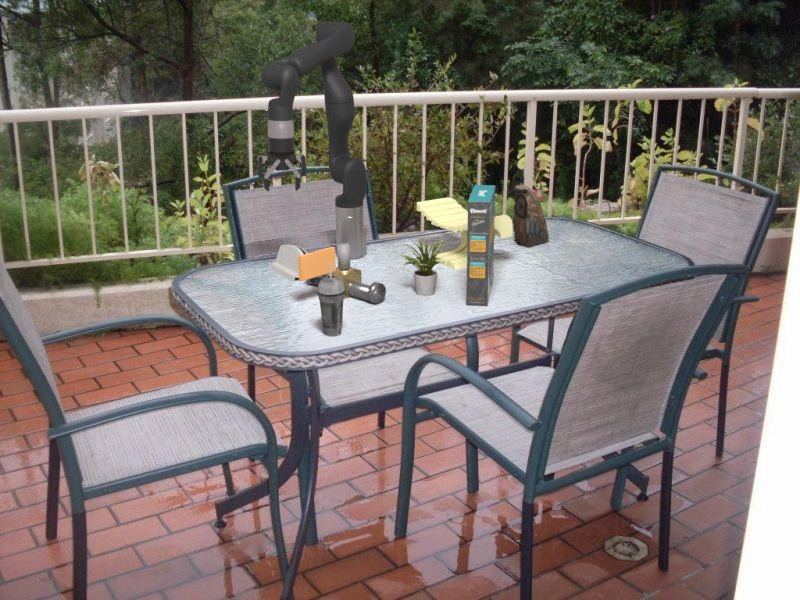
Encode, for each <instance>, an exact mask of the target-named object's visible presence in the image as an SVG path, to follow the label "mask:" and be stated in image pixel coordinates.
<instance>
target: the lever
mask: <svg viewBox="0 0 800 600" xmlns="http://www.w3.org/2000/svg"><path fill="white" fill-rule="evenodd" d="M337 249H338V257H337V267H338V268H339V269H349V268H350V267H351V259H350V244H349V243H338V244H337V245H336V247H335V246H330V247H325V248H323V249H319V250H315V251H312V252H308V254H304V255H301V256H298V267H299V278H298V281H300V282H304V281H306V280H307V279H311V278H314V277H317V276H320V275H324V274H327V273H329V261H331V272H333V271H336V268H337V267H336V250H337Z"/></svg>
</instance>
